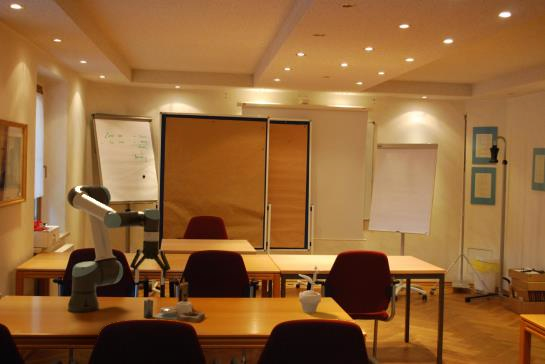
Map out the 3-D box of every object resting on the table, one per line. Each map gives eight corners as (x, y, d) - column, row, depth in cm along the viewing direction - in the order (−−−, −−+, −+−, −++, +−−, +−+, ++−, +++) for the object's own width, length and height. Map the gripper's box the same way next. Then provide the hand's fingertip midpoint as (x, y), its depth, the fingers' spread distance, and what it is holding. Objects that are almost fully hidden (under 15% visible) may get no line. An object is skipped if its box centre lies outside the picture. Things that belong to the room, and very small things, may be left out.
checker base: (153, 317, 272) (153, 316, 272) (162, 312, 284) (162, 311, 284) (176, 320, 269) (176, 319, 269) (185, 314, 281) (185, 313, 281)
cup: (175, 316, 277) (176, 304, 277) (180, 313, 283) (180, 301, 283) (187, 317, 276) (187, 305, 276) (191, 314, 282) (191, 302, 281)
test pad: (157, 313, 273) (157, 310, 273) (164, 309, 282) (164, 306, 282) (174, 314, 271) (174, 311, 271) (181, 310, 280) (181, 307, 280)
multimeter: (193, 313, 284) (194, 274, 284) (175, 311, 286) (176, 272, 286) (202, 306, 299) (204, 269, 298) (185, 304, 301) (186, 268, 300)
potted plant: (323, 311, 298) (325, 264, 297) (315, 315, 287) (317, 267, 287) (301, 308, 303) (303, 262, 303) (293, 312, 292) (295, 265, 292)
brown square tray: (178, 320, 269) (178, 316, 269) (185, 315, 279) (185, 311, 279) (197, 322, 267) (197, 318, 267) (204, 317, 277) (204, 313, 277)
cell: (142, 317, 272) (142, 299, 272) (146, 315, 276) (146, 297, 276) (150, 318, 271) (151, 300, 271) (154, 316, 275) (154, 298, 275)
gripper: (124, 239, 272) (122, 282, 272) (172, 242, 267) (170, 286, 267) (131, 237, 279) (129, 279, 280) (177, 240, 274) (176, 283, 275)
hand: (149, 283), depth 273 cm, fingers open, 13 cm apart
